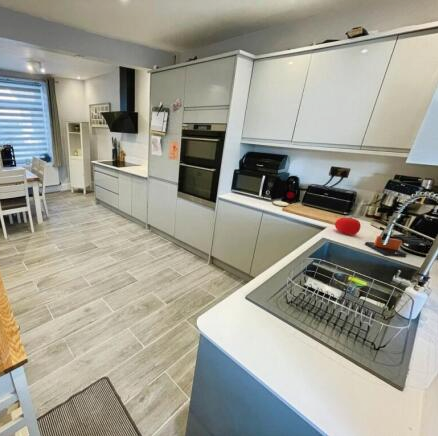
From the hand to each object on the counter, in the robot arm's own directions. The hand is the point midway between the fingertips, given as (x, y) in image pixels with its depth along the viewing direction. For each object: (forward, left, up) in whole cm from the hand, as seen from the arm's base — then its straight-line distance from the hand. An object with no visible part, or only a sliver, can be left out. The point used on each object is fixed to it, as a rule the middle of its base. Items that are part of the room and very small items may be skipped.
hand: (386, 237), depth 144 cm
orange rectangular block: (-2, +3, -5) cm, 6 cm away
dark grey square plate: (-2, +3, -7) cm, 8 cm away
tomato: (+20, -10, -7) cm, 24 cm away
